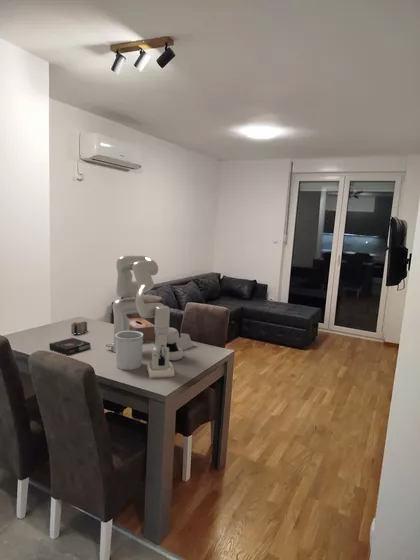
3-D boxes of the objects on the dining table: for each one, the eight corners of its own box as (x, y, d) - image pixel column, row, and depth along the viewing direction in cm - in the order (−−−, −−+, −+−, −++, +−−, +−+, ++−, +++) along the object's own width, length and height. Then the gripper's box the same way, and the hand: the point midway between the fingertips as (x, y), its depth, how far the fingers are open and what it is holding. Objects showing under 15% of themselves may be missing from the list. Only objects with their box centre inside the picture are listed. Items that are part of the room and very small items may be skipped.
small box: (168, 366, 197) (169, 347, 195) (166, 370, 191) (167, 350, 190) (154, 365, 197) (154, 346, 196) (151, 369, 192) (152, 349, 190)
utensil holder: (136, 371, 194) (137, 339, 192) (110, 368, 197) (110, 336, 195) (146, 362, 209) (147, 332, 206) (121, 359, 211) (122, 329, 209)
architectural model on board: (74, 336, 252) (74, 322, 251) (71, 335, 254) (71, 321, 252) (87, 332, 262) (87, 319, 261) (84, 331, 263) (84, 318, 262)
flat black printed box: (67, 356, 213) (67, 349, 213) (49, 349, 222) (49, 343, 222) (90, 349, 227) (90, 343, 226) (72, 343, 236) (72, 337, 236)
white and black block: (176, 352, 229) (173, 336, 230) (171, 352, 232) (167, 337, 232) (194, 346, 242) (190, 331, 243) (188, 347, 245) (185, 332, 246)
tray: (149, 378, 187) (149, 371, 186) (146, 369, 199) (147, 362, 198) (174, 376, 190) (174, 370, 190) (170, 367, 202) (170, 361, 202)
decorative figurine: (188, 358, 219) (190, 325, 216) (168, 363, 209) (170, 329, 206) (173, 351, 229) (174, 320, 227) (153, 356, 219) (154, 323, 217)
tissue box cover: (122, 333, 265) (122, 319, 263) (141, 331, 272) (141, 317, 271) (135, 343, 243) (135, 328, 242) (155, 340, 251) (156, 326, 249)
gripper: (152, 325, 199) (151, 357, 201) (156, 334, 182) (155, 369, 185) (166, 325, 201) (165, 356, 203) (171, 334, 184) (170, 368, 187)
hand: (160, 362), depth 194 cm, fingers closed on small box, 7 cm apart
